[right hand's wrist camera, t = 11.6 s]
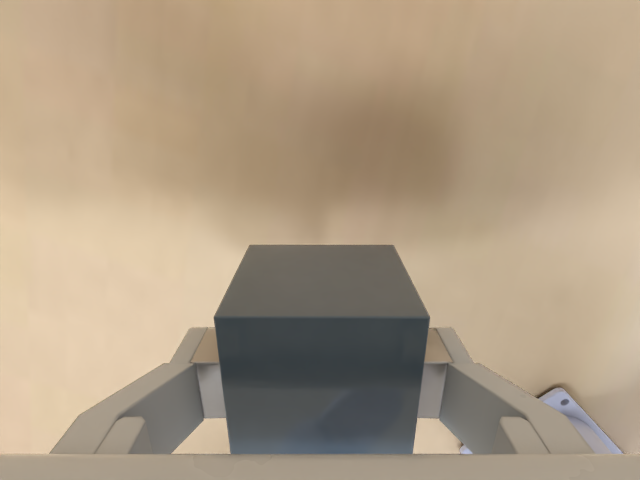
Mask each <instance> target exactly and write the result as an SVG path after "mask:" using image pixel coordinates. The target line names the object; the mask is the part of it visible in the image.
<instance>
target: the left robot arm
mask: <svg viewBox="0 0 640 480" xmlns="http://www.w3.org/2000/svg"><path fill="white" fill-rule="evenodd" d="M538 399H539V400H541V401H543V402H544V403H546V404H548V405H549V406H551V407H552V408H554V409H556V410H557V411H559V412H561V413H562V414H564V415H566V416H567V418H568V419H569V420H570V421H571V423H572V424H573V425H574V427H575V428H576V429H577V430H578V432H579V433H580V434H581V436H582V437H583V438H584V439H585V441H586V442H587V443H588V445H589V446H590V447H591V448H592V450H593V451H594V452H595V453H596V454H624V453H623V452H622V451H621V450H620V449H619V448H618V447H617V446H616V445H615V444H614V443H613V441H612V440H611V439H610V438H609V437H608V436H607V435H606V434H605V433H604V432H603V431H602V430H601V428H600V427H599V426H598V425H597V424H596V423H595V422H594V421H593V420H592V419H591V418H590V417H589V416H588V414H587V413H586V412H585V411H584V410H583V409H582V408H581V407H580V406H579V405H578V404H577V403H576V402H575V400H574V399H573V398H572V397H571V396H570V395H569V394H568V393H567V392H566V391H565V390H564V389H563V388H555V389H553V390H551V391H549V392H548V393H546V394H545V395H543V396H541V397H540V398H538ZM460 453H461V454H473V453H472V452H471V451H470V450H469V449H468V448H467V447H466V446H465V445H463V446H462V447H461V448H460Z"/></svg>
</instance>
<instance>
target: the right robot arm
mask: <svg viewBox="0 0 640 480" xmlns="http://www.w3.org/2000/svg"><path fill="white" fill-rule="evenodd" d="M203 418H226V413H225V405H224V397H223V388H222V380H221V372H220V364H219V356H218V348H217V340H216V332H215V327H209V328H208V327H192V328H190V329H189V330H188V332H187V333H186V335H185V337H184V339H183V340H182V342H181V344H180V346H179V347H178V349H177V351H176V352H175V354H174V356H173V358H172V359H171V361H170V363H164V364H162V365H160V366H159V367H157V368H155V369H154V370H152V371H150V372H149V373H147V374H146V375H144V376H142V377H141V378H139V379H137V380H136V381H134V382H132V383H131V384H129V385H128V386H126V387H124V388H123V389H121V390H119V391H118V392H116V393H114V394H113V395H111V396H109V397H108V398H106V399H105V400H103V401H101V402H100V403H98V404H96V405H95V406H93V407H91V408H90V409H88V410H87V411H85V412H83V413H82V414H80V415H79V416H78V417H77V418H76V420H75V421H74V422H73V423H72V425H71V426H70V427H69V429H68V430H67V431H66V432H65V434H64V435H63V436H62V438H61V439H60V440H59V442H58V443H57V444H56V445H55V447H54V448H53V449H52V451H51V452H50V453H49V454H0V480H640V454H596V453H595V452H594V451H593V450H592V448H591V447H590V446H589V445H588V443H587V442H586V441H585V439H584V438H583V437H582V436H581V434H580V433H579V432H578V430H577V429H576V428H575V427H574V425H573V424H572V423H571V421H570V420H569V419H568V418H567V416H566V415H564V414H562V413H561V412H559V411H557V410H556V409H554V408H552V407H551V406H549V405H548V404H546V403H544V402H543V401H541V400H539V399H538V398H536V397H534V396H533V395H531V394H529V393H528V392H526V391H524V390H523V389H521V388H519V387H518V386H516V385H515V384H513V383H511V382H510V381H508V380H506V379H505V378H503V377H501V376H500V375H498V374H496V373H495V372H493V371H491V370H490V369H488V368H486V367H485V366H483V365H481V364H480V363H474V362H473V360H472V359H471V357H470V355H469V354H468V352H467V350H466V349H465V347H464V345H463V344H462V342H461V340H460V339H459V337H458V335H457V334H456V332H455V330H454V329H453V328H452V327H434V328H429V330H428V338H427V346H426V354H425V361H424V369H423V377H422V385H421V393H420V400H419V408H418V416H417V418H440V421H441V422H442V423H443V424H444V425H445V426H446V427H447V428H448V429H449V430H450V431H451V432H452V433H453V434H454V435H455V436H456V437H457V438H458V439H459V440H460V441H461V442H462V443H463V444H464V445H465V446H466V447H467V448H468V449H469V450H470V451H471V452H472V453H473V454H171V453H172V452H173V451H174V450H175V449H176V448H177V447H178V446H179V445H180V444H181V443H182V442H183V441H184V440H185V439H186V438H187V437H188V436H189V435H190V434H191V433H192V432H193V431H194V430H195V429H196V428H197V426H198V425H199V424H200V423H201V422H202V421H203V420H204V419H203Z"/></svg>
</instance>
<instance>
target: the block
mask: <svg viewBox="0 0 640 480" xmlns="http://www.w3.org/2000/svg"><path fill="white" fill-rule="evenodd" d="M429 323H430V316H429V314H428V312H427V310H426V308H425V306H424V304H423V302H422V300H421V298H420V296H419V294H418V292H417V290H416V288H415V286H414V284H413V282H412V280H411V278H410V277H409V275H408V273H407V271H406V269H405V267H404V265H403V263H402V261H401V259H400V257H399V255H398V253H397V251H396V249H395V247H394V245H249V247H248V249H247V251H246V253H245V255H244V257H243V259H242V261H241V263H240V265H239V267H238V269H237V271H236V273H235V275H234V277H233V279H232V281H231V283H230V285H229V287H228V289H227V291H226V293H225V295H224V297H223V299H222V301H221V303H220V305H219V307H218V309H217V311H216V313H215V315H214V324H215V332H216V340H217V348H218V356H219V364H220V372H221V380H222V388H223V397H224V405H225V413H226V421H227V429H228V437H229V445H230V453H231V454H413V447H414V439H415V431H416V424H417V416H418V408H419V400H420V393H421V385H422V377H423V369H424V361H425V354H426V346H427V338H428V330H429Z"/></svg>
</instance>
